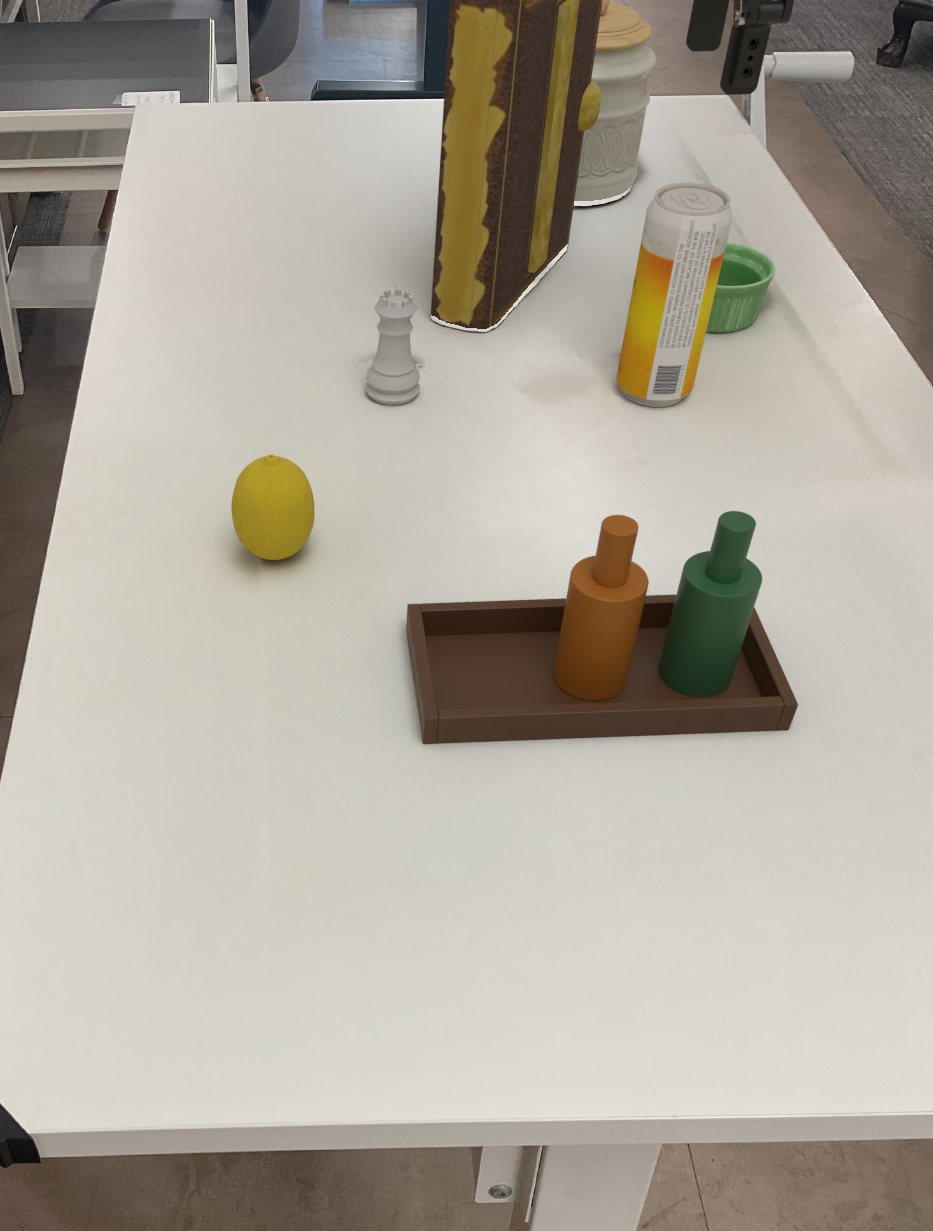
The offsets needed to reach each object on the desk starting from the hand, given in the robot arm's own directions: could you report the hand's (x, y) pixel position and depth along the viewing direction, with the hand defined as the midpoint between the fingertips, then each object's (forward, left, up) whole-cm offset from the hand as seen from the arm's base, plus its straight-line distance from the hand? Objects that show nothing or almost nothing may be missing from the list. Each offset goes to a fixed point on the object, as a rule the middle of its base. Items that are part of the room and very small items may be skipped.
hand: (718, 70), depth 83 cm
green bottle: (+5, +34, -23) cm, 41 cm away
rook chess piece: (+21, -2, -24) cm, 32 cm away
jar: (-1, -43, -24) cm, 49 cm away
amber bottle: (+12, +34, -23) cm, 42 cm away
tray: (+12, +34, -24) cm, 43 cm away
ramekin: (-8, -14, -24) cm, 29 cm away
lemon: (+31, +20, -24) cm, 43 cm away
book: (+9, -22, -24) cm, 34 cm away
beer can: (0, -1, -24) cm, 24 cm away
